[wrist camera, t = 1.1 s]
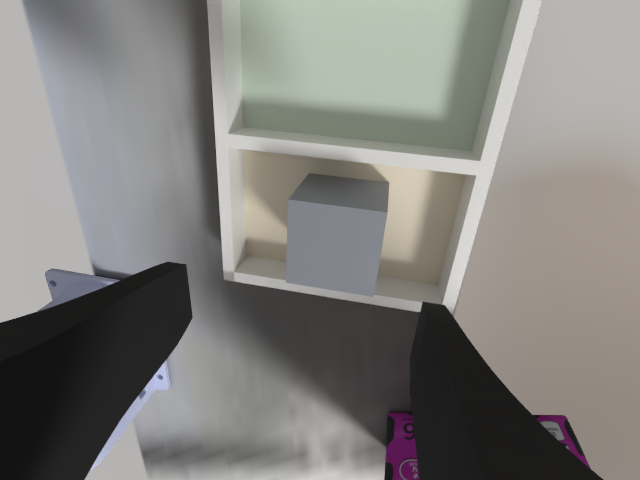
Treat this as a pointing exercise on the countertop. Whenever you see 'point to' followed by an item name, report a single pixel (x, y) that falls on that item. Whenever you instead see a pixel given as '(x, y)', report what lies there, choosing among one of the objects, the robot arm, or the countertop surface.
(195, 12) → the countertop surface
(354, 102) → the two-bin tray
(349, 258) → the slate block
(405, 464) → the candy bar box
